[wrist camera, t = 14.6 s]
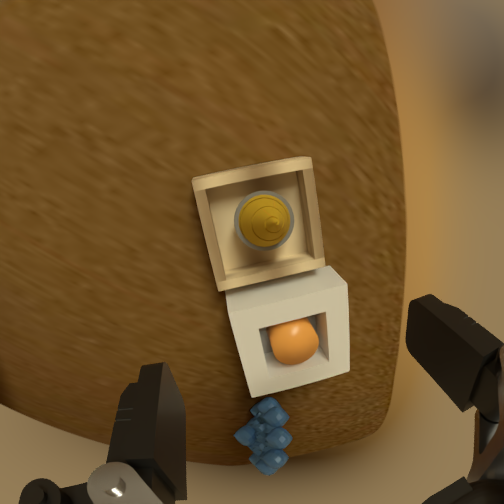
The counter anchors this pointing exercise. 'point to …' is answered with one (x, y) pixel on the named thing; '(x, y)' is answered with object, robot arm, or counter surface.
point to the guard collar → (283, 310)
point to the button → (293, 341)
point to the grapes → (266, 436)
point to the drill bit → (264, 220)
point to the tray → (227, 240)
